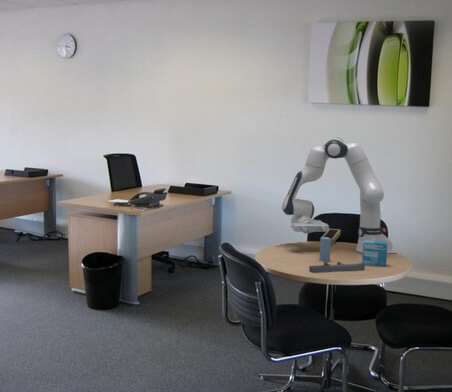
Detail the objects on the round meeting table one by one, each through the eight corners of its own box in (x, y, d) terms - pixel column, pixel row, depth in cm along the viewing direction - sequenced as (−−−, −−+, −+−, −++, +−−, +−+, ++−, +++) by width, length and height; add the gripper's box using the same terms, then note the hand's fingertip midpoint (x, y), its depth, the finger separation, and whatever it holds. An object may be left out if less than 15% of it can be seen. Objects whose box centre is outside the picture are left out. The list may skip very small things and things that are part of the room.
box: (341, 236, 337) (341, 229, 336) (332, 249, 317) (332, 241, 316) (328, 235, 340) (328, 228, 339) (318, 248, 321) (318, 240, 319)
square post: (326, 259, 284) (327, 237, 282) (329, 261, 280) (330, 238, 278) (319, 259, 283) (320, 237, 281) (322, 261, 279) (323, 239, 277)
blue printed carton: (361, 264, 274) (363, 241, 273) (361, 262, 278) (363, 240, 277) (386, 266, 271) (387, 243, 269) (385, 264, 275) (387, 241, 274)
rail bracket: (357, 265, 271) (357, 261, 271) (364, 270, 264) (364, 265, 263) (305, 268, 265) (305, 263, 265) (311, 272, 257) (311, 267, 257)
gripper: (289, 220, 302) (298, 224, 288) (322, 220, 306) (333, 224, 293) (288, 230, 302) (297, 236, 289) (322, 230, 307) (332, 235, 294)
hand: (315, 230), depth 291 cm, fingers open, 8 cm apart
